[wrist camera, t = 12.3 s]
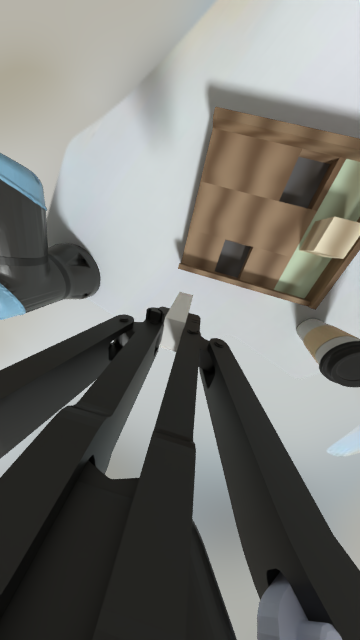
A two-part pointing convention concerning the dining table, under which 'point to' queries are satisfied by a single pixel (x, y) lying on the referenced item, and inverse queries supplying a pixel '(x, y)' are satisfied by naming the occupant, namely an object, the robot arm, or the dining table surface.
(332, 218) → the birch block
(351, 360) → the coffee cup
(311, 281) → the box
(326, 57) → the dining table surface
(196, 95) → the dining table surface
